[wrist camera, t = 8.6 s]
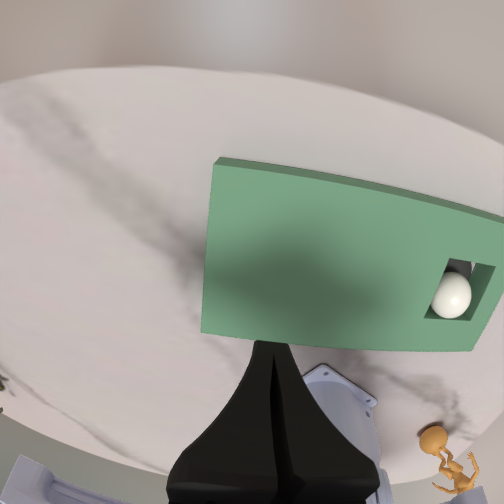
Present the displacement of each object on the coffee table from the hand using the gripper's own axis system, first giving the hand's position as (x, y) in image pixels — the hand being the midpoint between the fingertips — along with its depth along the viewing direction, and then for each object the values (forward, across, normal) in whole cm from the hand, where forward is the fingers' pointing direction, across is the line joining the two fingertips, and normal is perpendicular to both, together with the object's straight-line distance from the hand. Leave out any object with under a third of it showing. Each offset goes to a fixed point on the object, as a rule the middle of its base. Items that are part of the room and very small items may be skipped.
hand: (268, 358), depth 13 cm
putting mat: (+10, -8, 0) cm, 13 cm away
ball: (+8, -14, +1) cm, 17 cm away
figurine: (+11, -27, +23) cm, 37 cm away
